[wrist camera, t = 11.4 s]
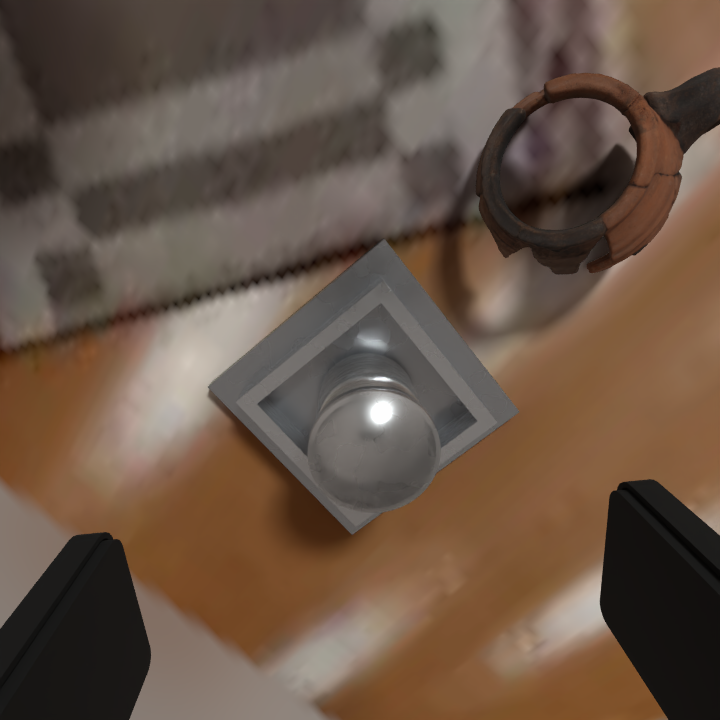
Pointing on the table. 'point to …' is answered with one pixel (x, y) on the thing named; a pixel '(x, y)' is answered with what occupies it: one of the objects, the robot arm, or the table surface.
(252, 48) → the table surface
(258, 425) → the duct collar
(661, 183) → the pottery mug
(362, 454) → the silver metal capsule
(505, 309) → the table surface
